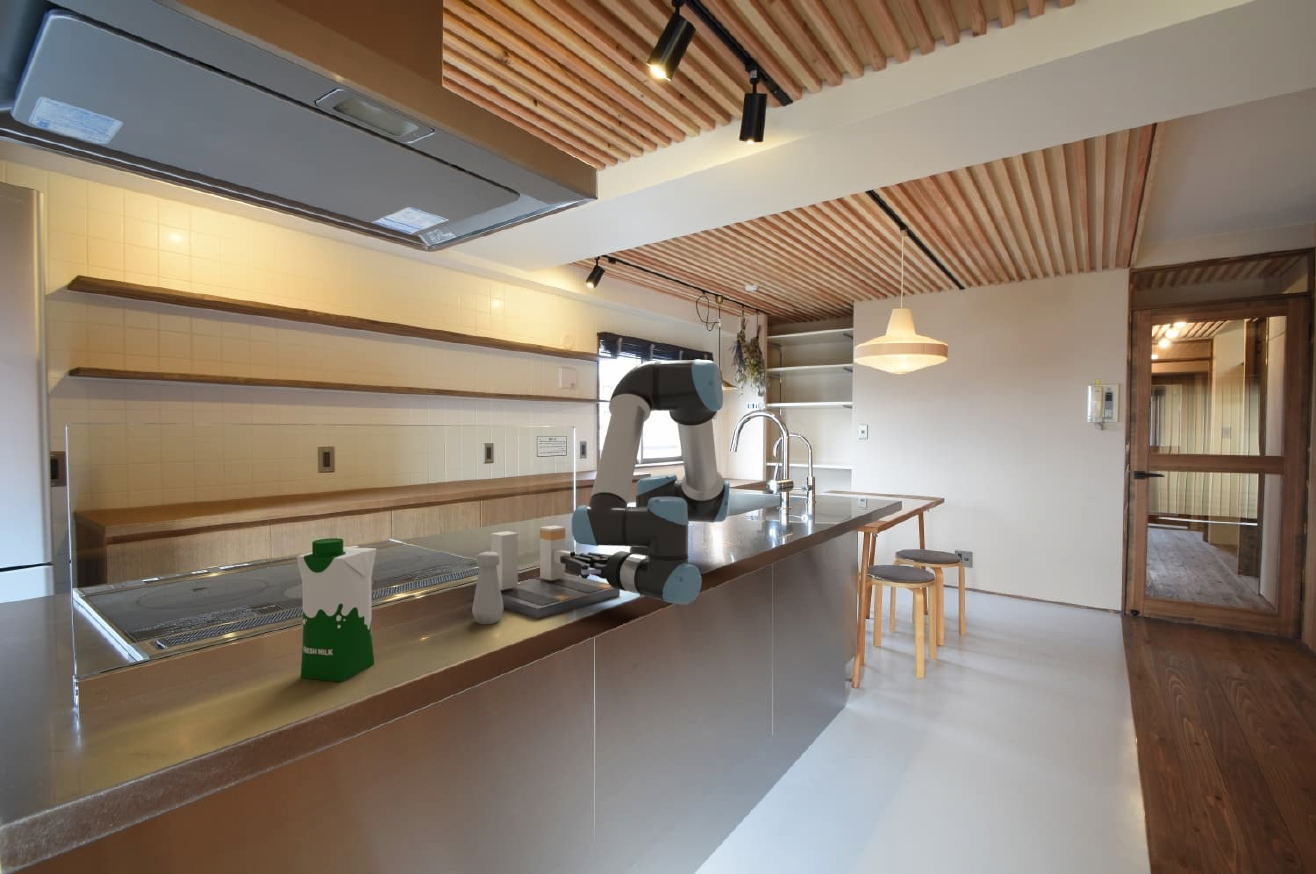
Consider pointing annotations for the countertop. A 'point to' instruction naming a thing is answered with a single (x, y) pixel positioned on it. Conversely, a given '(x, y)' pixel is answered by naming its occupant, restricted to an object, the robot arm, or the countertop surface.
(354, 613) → the milk carton
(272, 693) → the countertop surface
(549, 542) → the handle
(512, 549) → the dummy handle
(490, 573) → the salt shaker
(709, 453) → the robot arm
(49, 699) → the countertop surface
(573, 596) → the panel
